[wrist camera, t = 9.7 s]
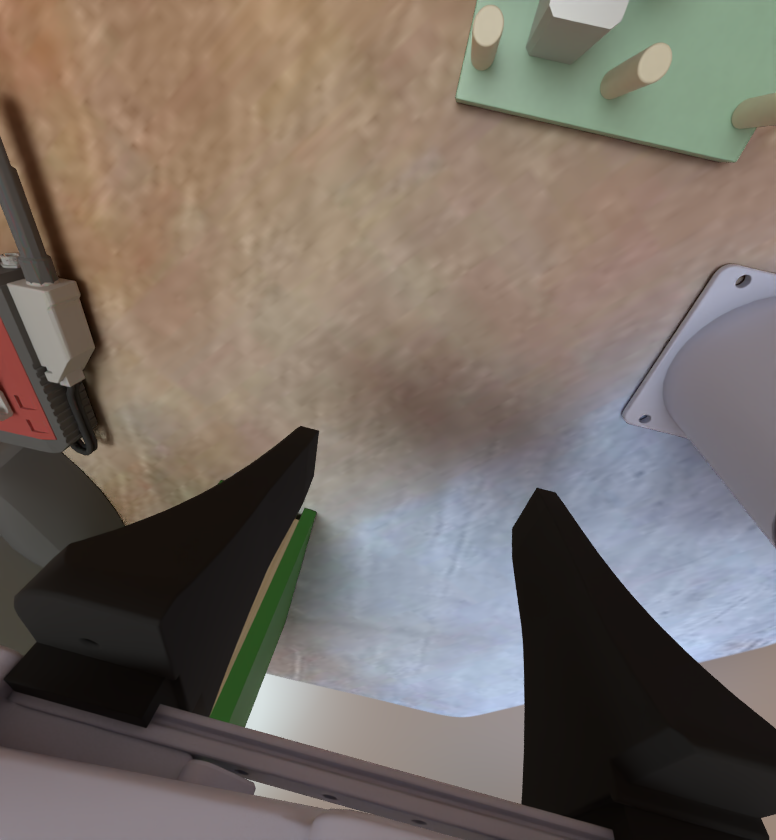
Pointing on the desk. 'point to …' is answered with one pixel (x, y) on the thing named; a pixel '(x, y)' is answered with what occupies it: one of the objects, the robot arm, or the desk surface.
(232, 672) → the hardback book
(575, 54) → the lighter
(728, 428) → the robot arm
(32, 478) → the alarm clock
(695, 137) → the dish rack
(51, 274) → the walkie-talkie
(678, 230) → the desk surface
